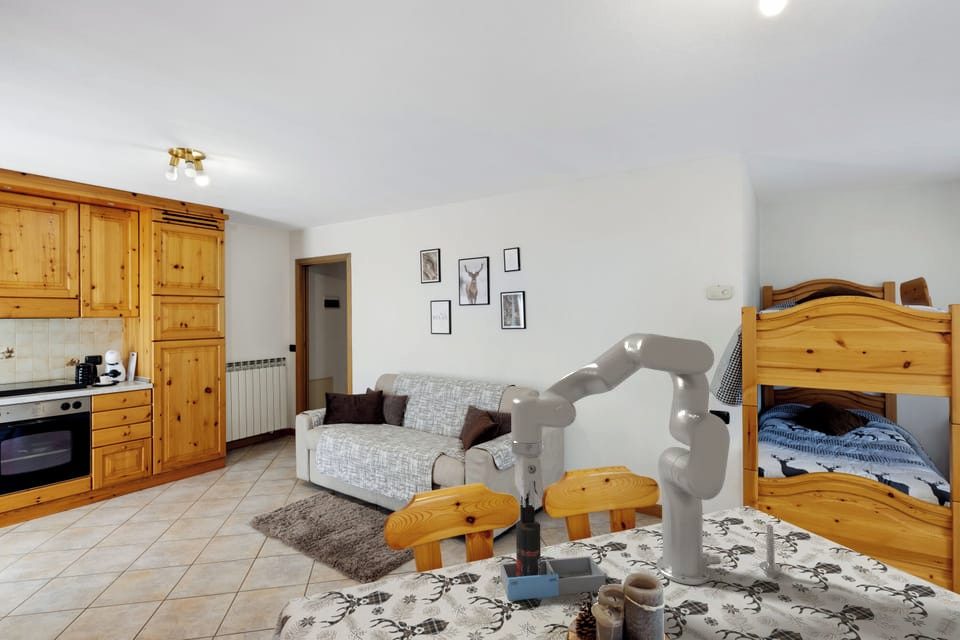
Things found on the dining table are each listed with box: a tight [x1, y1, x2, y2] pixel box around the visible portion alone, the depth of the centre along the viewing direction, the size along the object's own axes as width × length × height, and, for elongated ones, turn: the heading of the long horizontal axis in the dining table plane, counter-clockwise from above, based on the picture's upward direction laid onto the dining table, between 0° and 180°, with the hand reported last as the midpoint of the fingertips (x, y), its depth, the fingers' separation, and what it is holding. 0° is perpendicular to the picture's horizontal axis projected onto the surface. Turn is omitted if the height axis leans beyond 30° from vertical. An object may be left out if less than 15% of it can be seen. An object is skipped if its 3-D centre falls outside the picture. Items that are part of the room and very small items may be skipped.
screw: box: [758, 523, 783, 579], centre depth 114 cm, size 13×5×5 cm
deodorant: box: [515, 519, 542, 577], centre depth 110 cm, size 6×6×15 cm
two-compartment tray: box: [499, 555, 606, 602], centre depth 111 cm, size 24×10×5 cm, turn 98°
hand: (527, 521), depth 110 cm, fingers closed
